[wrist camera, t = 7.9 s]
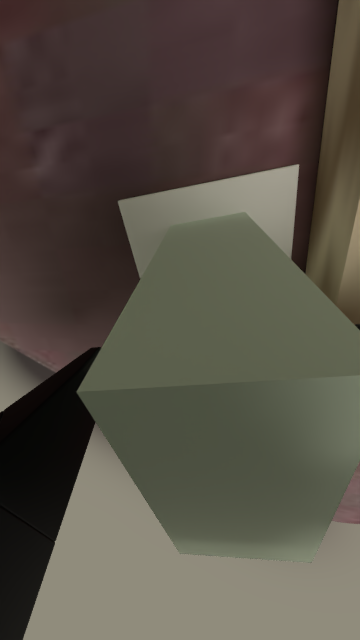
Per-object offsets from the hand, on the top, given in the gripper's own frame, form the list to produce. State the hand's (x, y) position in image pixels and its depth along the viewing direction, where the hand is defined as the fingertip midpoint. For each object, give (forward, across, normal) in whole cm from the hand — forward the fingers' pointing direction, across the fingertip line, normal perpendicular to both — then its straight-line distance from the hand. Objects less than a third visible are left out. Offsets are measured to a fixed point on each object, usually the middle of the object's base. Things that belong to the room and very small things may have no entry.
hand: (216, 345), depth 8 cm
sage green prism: (+5, 0, 0) cm, 5 cm away
